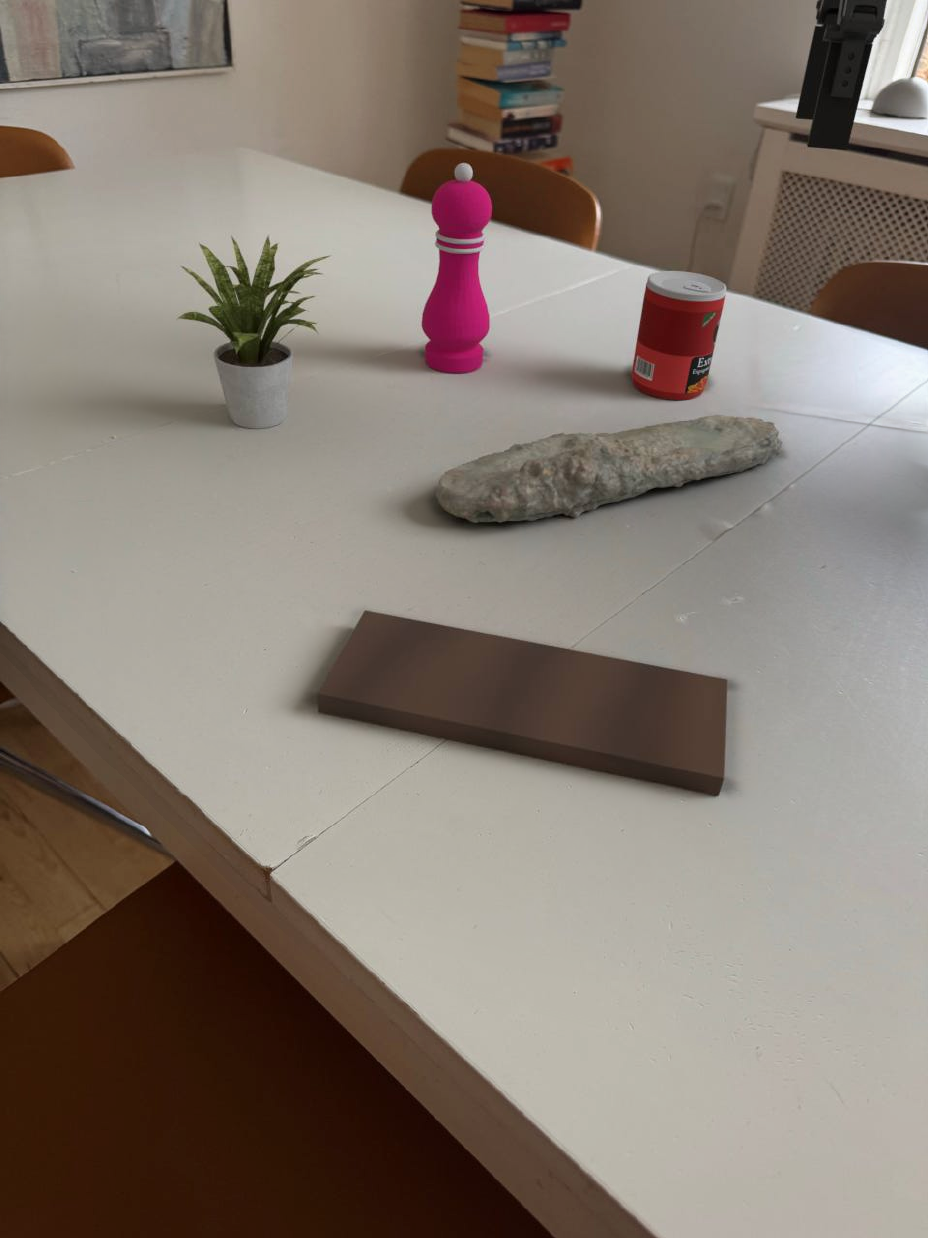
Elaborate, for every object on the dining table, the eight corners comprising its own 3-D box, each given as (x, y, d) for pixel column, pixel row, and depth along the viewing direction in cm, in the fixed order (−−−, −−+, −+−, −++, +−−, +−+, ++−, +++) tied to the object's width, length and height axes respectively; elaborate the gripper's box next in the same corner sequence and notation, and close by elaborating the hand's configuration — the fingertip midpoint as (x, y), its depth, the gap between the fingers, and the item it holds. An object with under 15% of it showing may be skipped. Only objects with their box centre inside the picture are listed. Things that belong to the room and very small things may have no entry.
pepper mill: (473, 380, 101) (487, 174, 89) (410, 367, 103) (415, 164, 91) (495, 357, 107) (511, 161, 95) (435, 345, 109) (442, 151, 97)
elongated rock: (801, 483, 89) (727, 444, 96) (816, 429, 86) (739, 393, 93) (471, 546, 73) (413, 493, 81) (477, 482, 71) (416, 433, 78)
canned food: (700, 406, 99) (723, 299, 92) (623, 392, 101) (640, 286, 94) (709, 380, 105) (731, 277, 98) (636, 367, 107) (653, 265, 100)
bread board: (722, 697, 62) (727, 679, 61) (719, 796, 55) (724, 778, 54) (364, 627, 66) (364, 609, 65) (317, 712, 58) (316, 693, 57)
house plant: (343, 455, 86) (340, 267, 76) (182, 458, 83) (158, 266, 74) (334, 390, 97) (330, 220, 87) (192, 392, 95) (172, 217, 85)
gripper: (1010, -264, 52) (892, 167, 64) (930, -209, 71) (852, 112, 84) (864, -266, 53) (776, 157, 65) (825, -211, 73) (763, 105, 85)
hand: (818, 132), depth 75 cm, fingers open, 13 cm apart
